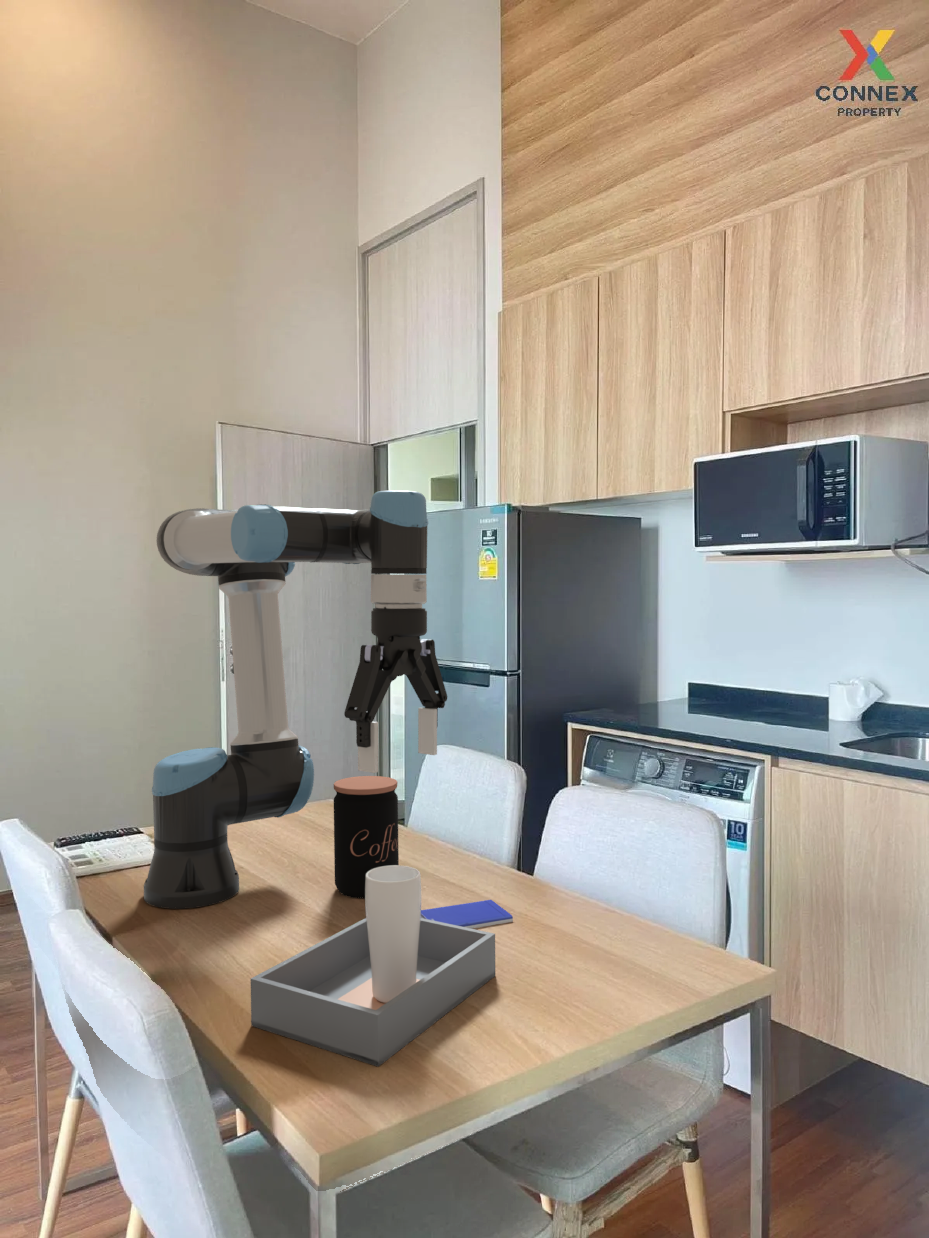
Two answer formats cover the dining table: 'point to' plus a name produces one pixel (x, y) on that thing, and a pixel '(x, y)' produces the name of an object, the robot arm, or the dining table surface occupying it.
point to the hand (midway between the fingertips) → (399, 762)
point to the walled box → (369, 991)
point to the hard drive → (469, 914)
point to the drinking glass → (393, 928)
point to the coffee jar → (364, 830)
